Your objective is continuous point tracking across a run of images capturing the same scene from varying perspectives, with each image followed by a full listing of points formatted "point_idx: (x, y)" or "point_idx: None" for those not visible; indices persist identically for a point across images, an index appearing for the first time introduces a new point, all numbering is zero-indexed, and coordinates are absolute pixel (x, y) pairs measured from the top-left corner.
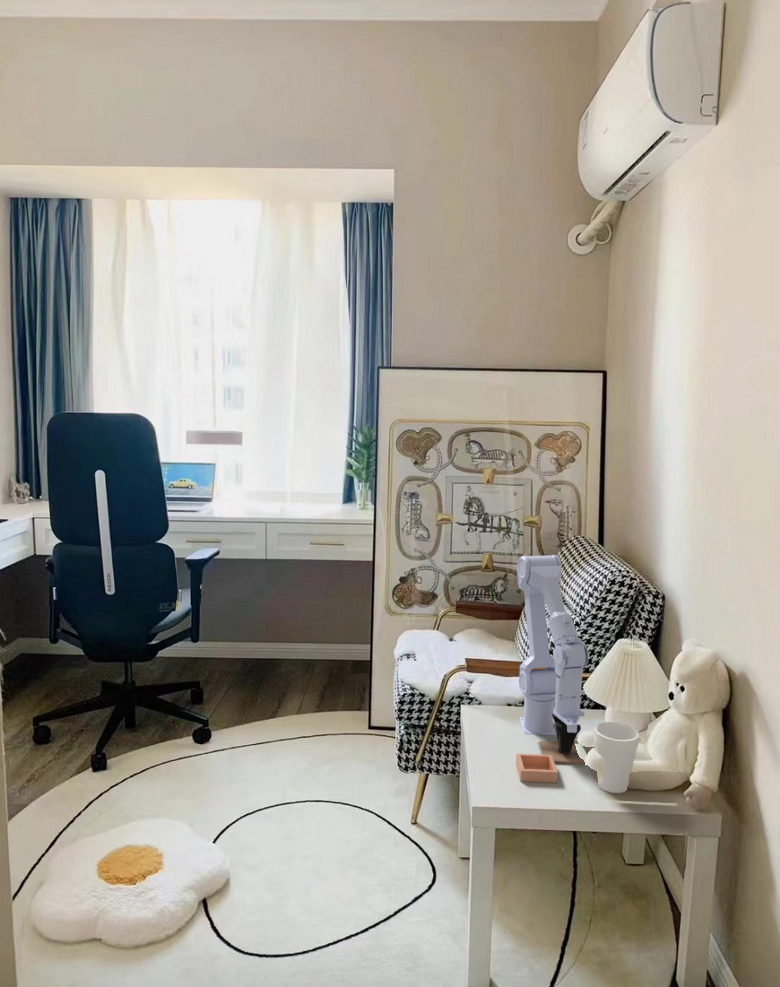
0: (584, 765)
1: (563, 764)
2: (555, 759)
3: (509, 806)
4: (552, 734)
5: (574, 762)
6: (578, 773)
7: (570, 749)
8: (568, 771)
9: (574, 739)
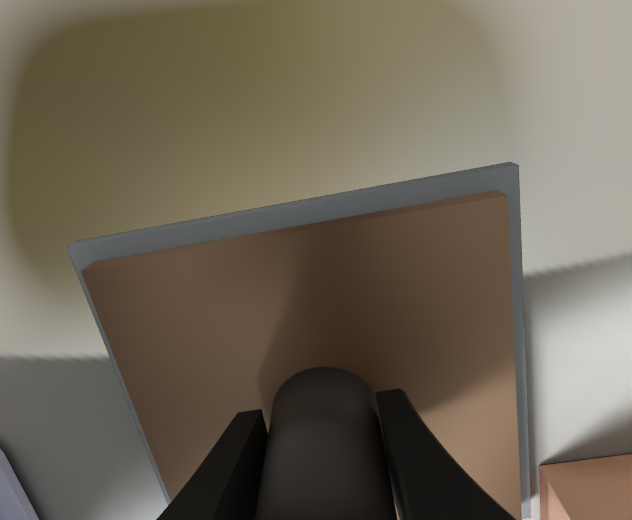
0: (516, 239)
1: (518, 400)
2: (491, 469)
3: None
4: (3, 476)
5: (509, 330)
6: (619, 281)
7: (413, 409)
8: (589, 354)
9: (476, 485)
